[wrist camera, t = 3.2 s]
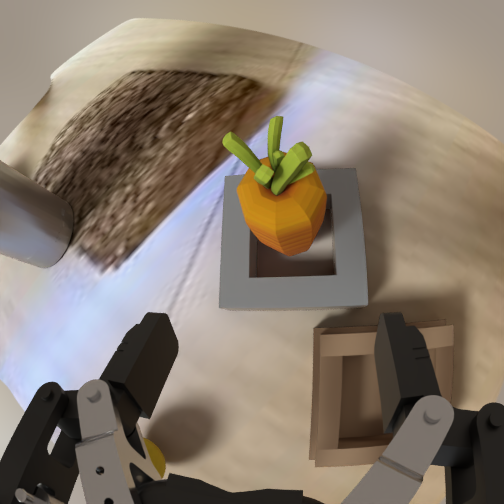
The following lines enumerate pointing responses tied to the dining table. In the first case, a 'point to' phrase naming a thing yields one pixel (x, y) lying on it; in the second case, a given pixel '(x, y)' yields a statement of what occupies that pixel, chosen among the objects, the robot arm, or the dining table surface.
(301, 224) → the carrot
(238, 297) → the socket block
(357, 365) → the square wooden tray
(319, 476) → the dining table surface
